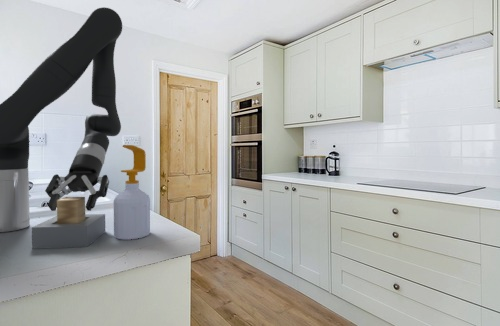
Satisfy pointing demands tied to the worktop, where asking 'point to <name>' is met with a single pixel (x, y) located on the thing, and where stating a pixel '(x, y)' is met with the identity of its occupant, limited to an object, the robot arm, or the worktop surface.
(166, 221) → the worktop surface
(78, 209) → the oak post
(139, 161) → the soap bottle
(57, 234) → the well
